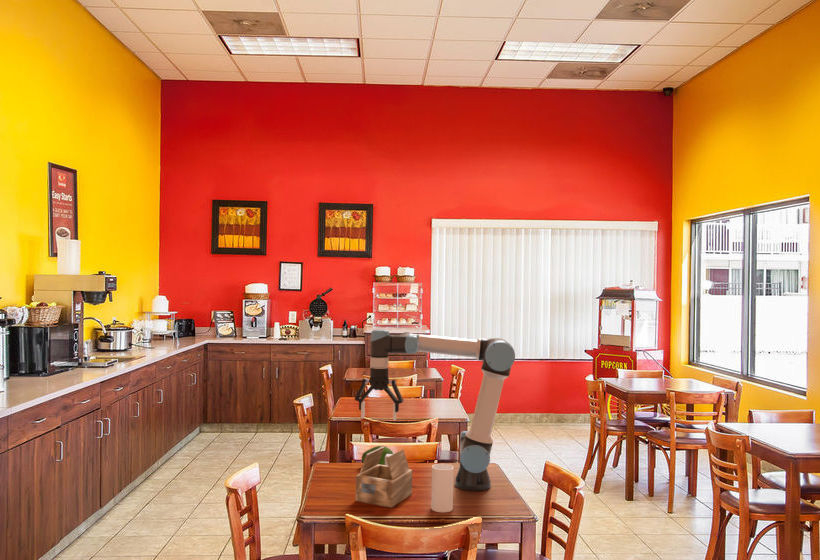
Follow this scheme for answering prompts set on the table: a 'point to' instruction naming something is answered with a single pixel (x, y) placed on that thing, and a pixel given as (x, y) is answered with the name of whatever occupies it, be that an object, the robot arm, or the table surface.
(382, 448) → the flap
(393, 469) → the flap
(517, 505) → the table surface
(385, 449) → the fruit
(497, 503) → the table surface
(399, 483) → the wooden box
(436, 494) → the cup
